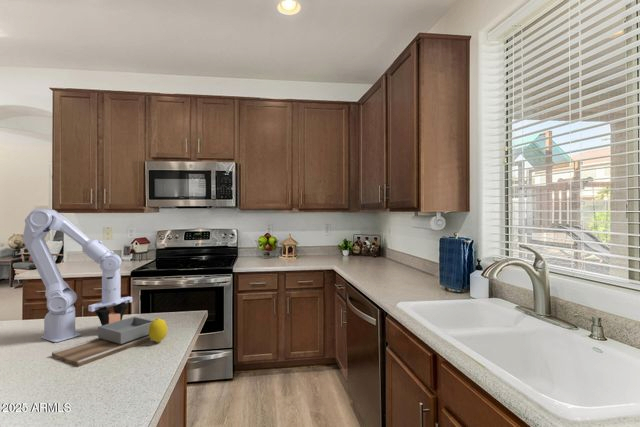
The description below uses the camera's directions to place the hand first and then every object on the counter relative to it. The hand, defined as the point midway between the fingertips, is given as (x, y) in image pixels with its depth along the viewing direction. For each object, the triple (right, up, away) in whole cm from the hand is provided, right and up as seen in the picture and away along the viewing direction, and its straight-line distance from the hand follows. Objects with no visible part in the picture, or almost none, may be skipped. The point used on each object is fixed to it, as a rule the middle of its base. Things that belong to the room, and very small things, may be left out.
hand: (111, 326), depth 124 cm
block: (0, -2, 0) cm, 2 cm away
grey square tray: (+10, -1, -7) cm, 13 cm away
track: (+8, -2, -12) cm, 15 cm away
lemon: (+21, -2, -10) cm, 24 cm away
